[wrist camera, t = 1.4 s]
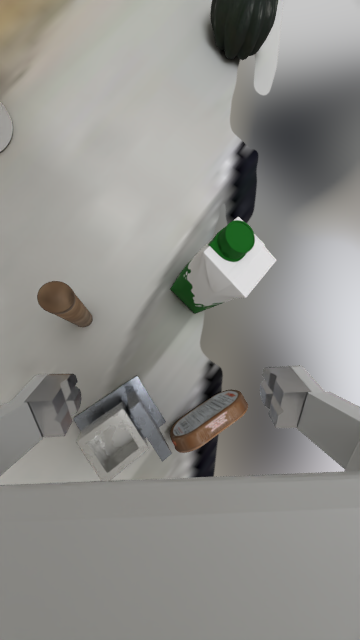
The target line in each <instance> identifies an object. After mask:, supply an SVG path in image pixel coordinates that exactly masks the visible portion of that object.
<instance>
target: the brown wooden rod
mask: <svg viewBox="0 0 360 640" xmlns="http://www.w3.org/2000/svg"><path fill="white" fill-rule="evenodd" d="M37 299H38V303H39V305H40V306H41V307H42V308H43V309H44V310H46V311H48V312H50V313H52V314H55V315H57V316H59V317H61V318H63V319H65V320H67V321H69V322H71V323H73V324H75V325H78V326H80V327H86V326H89V325H90V324H91V322H92V319H93V318H92V315H91V313H90V312H89V311H88V310H87V308H86V307H85V306H84V305H83V303H82V302H81V301H80V300H79V298H78V297H77V296H76V295H75V293H74V292H73V290H72V289H71V288H70V287H69V286H68V285H67V284H65V283H63V282H59V281H52V282H48V283H46V284H44V285H43V286H42V287H41V288H40V290H39V292H38V295H37Z"/></svg>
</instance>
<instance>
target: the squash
mask: <svg viewBox="0 0 360 640" xmlns="http://www.w3.org/2000/svg"><path fill="white" fill-rule="evenodd" d="M277 5H278V0H212V5H211V23H212V28H213V31H214V34H215V41H216V44H217V47H218V48H219V49H220V50H225V55H226V57H227V58H229V59H233V58H235V57H236V55H237V56H238V58H239V59H242V60H244V59H246V58H247V57H248V56H251V55H254V54H255V53H256V52H257V51H258V50H259V49H260V47H261V46H262V44H263V43H264V41H265V40H266V38H267V36H268V34H269V33H270V30H271V28H272V26H273V24H274V21H275V16H276V11H277Z"/></svg>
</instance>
